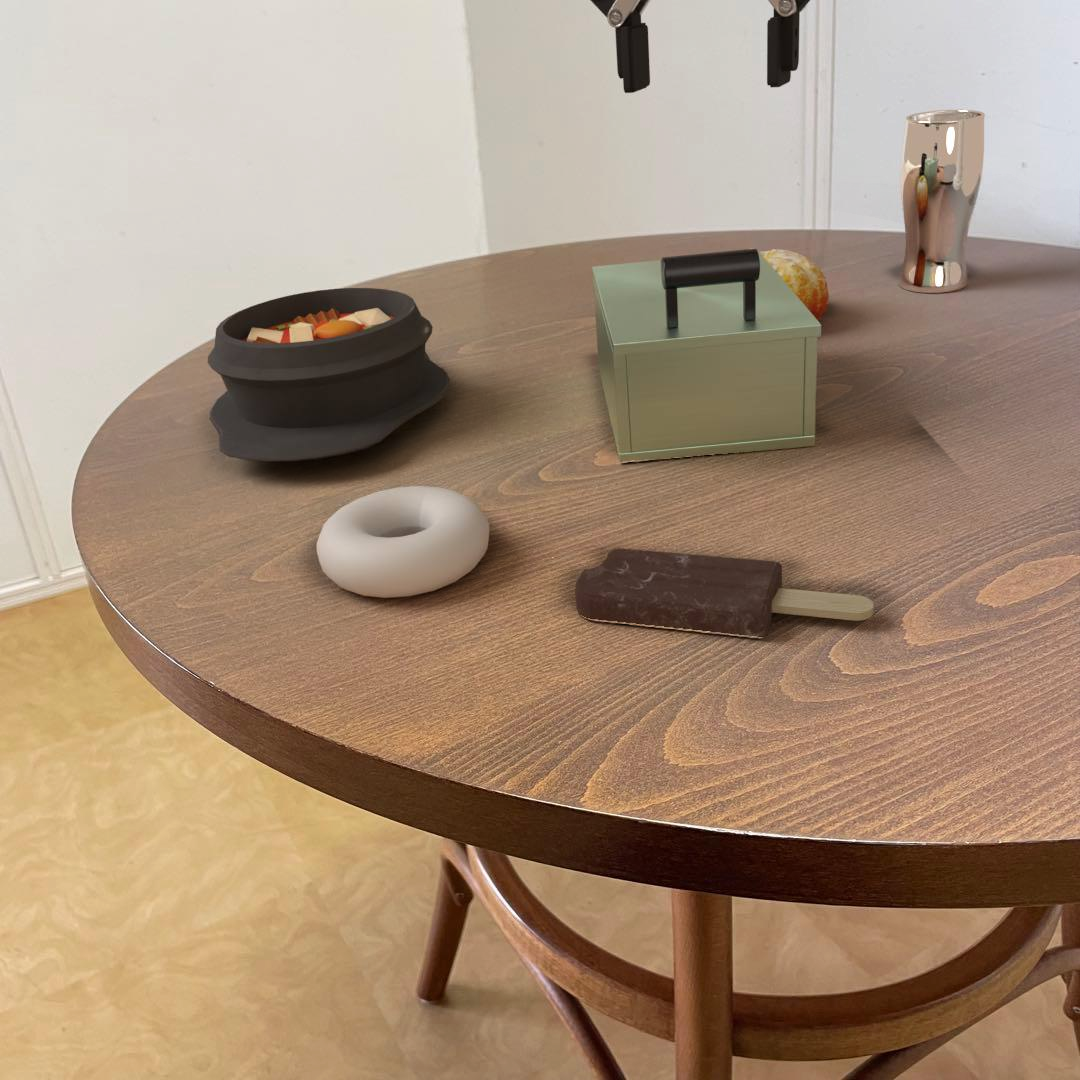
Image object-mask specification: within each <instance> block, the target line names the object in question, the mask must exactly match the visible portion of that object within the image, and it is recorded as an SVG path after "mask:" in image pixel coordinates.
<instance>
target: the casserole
mask: <svg viewBox="0 0 1080 1080" xmlns="http://www.w3.org/2000/svg"><path fill="white" fill-rule="evenodd" d="M433 329H434V328H433V325H432V324H431V321H429V320H428V319H427V318H426V317H425V316H423V315H422V314H421V311H420V310H419V307H418V306H417V304H416V302H415V300H414V298H413V297H411V296H410V295H408V294H407V293H404V292H400V291H397V290H392V289H387V288H373V287H343V288H329V289H320V290H319V289H318V290H313V291H307V292H300V293H295V294H294V293H293V294H290V295H286V296H282V297H277V298H274V299H270V300H267V301H263V302H260V303H257V304H254V305H251V306H249V307H246V308H244V309H241V310H238V311H237V312H235V313H233V314H231V315H229V316H227V317H226V318H224V320H222V321H221V322H219V324H218V325H217V327H216V328H215V337H214V347H213V348H212V349H211V351H210V353H209V354H208V355H207V364H208V365H209V367H210V369H212V370H213V371H214V372H215V373H216V374H218V375H220V377H221V380H222V381H223V384H224V386H225V389H226V391H225V392H224V393H222V395H221V396H220V397H218V398H217V399H216V401H215V403H214V404H213V406H212V407H211V409H210V411H209V420H210V422H211V423H212V425H213V427H214V428H215V430H216V431H217V433H218V438H219V439H218V441H219V452H220V453H222V454H224V455H225V456H227V457H230V458H234V459H239V460H244V461H253V462H255V461H256V462H269V463H270V462H298V461H308V460H319V459H325V458H331V457H336V456H342V455H347V454H350V453H351V454H352V453H354V452H359V451H363V450H366V449H369V448H370V447H373V446H375V445H377V444H379V443H381V441H383V440H385V438H387V437H388V436H389V435H390V434H392V433H393V432H394V431H396V430H397V428H399V427H400V426H401V425H403V424H404V423H406V422H408V421H409V420H411V419H414V418H415V417H416V416H418V415H420V414H421V413H424V412H425V411H427V410H428V409H430V408H431V407H434V405H435V404H437V403H438V402H439V401H441V399H443V398H444V397H445V395H446V394H447V392H448V390H449V389H450V387H451V378H450V376H449V374H448V373H447V371H446V370H444V369H443V368H442V367H440V366H439V365H438V364H436V363H435V362H434V361H432V360H431V358H430V357H429V355H428V353H427V352H426V343H427V342H428V341H429V339H430V337H431V336H432V333H433Z"/></svg>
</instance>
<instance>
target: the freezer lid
mask: <svg viewBox="0 0 1080 1080" xmlns="http://www.w3.org/2000/svg"><path fill="white" fill-rule="evenodd" d="M753 248H754V249H750V248H746V249H733V250H724V251H723V250H722V251H715V252H704V253H693V254H683V255H682V254H681V255H673V256H672V255H671V256H663V257H661V258H660V259H657V260H649V261H648V260H647V261H638V262H637V261H636V262H628V263H627V262H626V263H618V264H617V263H616V264H607V265H605V264H604V265H597V266H592V267H591V270H592V280H593V279H594V283H595V286H596V290H597V294H598V297H599V301H600V305H601V308H602V312H603V316H604V320H605V323H606V327H607V331H608V334H609V338H610V342H611V345H612V349H613V353H614V356H619V355H630V354H640V353H651V352H661V351H672V350H682V349H693V348H703V347H714V346H724V345H735V344H746V343H756V342H767V341H777V340H788V339H798V338H809V337H818V338H820V337H822V324H821V323H820V320H819V321H818V320H817V319H816V318H815V317H814V316H813V314H812V313H811V312H810V311H809V310H808V309H807V307H806V306H805V305H804V304H803V303H802V302H801V300H800V299H799V298H798V297H797V296H796V294H795V293H794V292H793V291H792V290H791V289H790V287H789V286H788V285H787V284H786V283H785V282H784V280H783V279H782V278H781V277H780V276H779V275H778V273H777V272H776V271H775V270H774V269H773V267H772V266H771V265H770V264H769V263H768V262H767V260H766V259H765V258H764V257H763V256H762V255H761V253H760V252H761V251H759V250H758V249H757V248H756V247H753ZM757 250H758V251H757Z"/></svg>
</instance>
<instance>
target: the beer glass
mask: <svg viewBox="0 0 1080 1080" xmlns="http://www.w3.org/2000/svg"><path fill="white" fill-rule="evenodd" d="M985 116H986V114H985V112H983V111H979V110H974V109H940V110H929V111H922V112H921V111H920V112H917V113H912V114H909V115H907V116H906V117H905V124H904V125H905V126H904V131H903V133H904V134H903V140H902V147H901V158H900V175H899V177H900V180H899V181H900V182H899V183H900V184H899V185H900V197H901V207H902V214H903V215H902V216H903V223H904V233H905V251H904V258H903V263H902V267H901V271H900V275H899V279H898V280H899V281H898V284H899V286H900V287H901V289H904V290H906V291H909V292H913V293H921V294H943V293H951V292H956V291H960V290H962V289H964V288H965V287H967V285H968V272H967V264H966V247H967V242H968V241H967V240H968V234H969V230H970V226H971V223H972V219H973V215H974V211H975V208H976V204H977V200H978V196H979V193H980V187H981V181H982V177H983V170H984V169H983V168H984V158H985V155H984V154H985Z"/></svg>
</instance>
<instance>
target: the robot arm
mask: <svg viewBox="0 0 1080 1080" xmlns="http://www.w3.org/2000/svg"><path fill="white" fill-rule="evenodd" d="M767 1H768V3H769V4H770V5H771V6H772V7H773V16H772V17H769V19H768V20H767V25H766V27H767V28H766V31H767V32H766V34H767V35H766V41H767V42H766V85H767V86H770V88H780V87H782V86H785V85H786V84H789V83H790V82H791V78H792V77H791V76H792V72H795V71H797V70H798V68H799V63H800V16H801V15H800V13H801V12H803V11H804V10H805V8H806V7H807V5H808V4H809V2H810V1H811V0H767ZM590 2H591V3H592V4H593V5H594V6H595V7H596V8H597V9H598V10H599V11H600V12H601V13H602V14H603V15H604V16H605V18H606V19H607V20H606V21H607V23H608V24H609V26H610V27H612V28H614V29H615V30H614V31H615V50H616V51H615V52H616V68H617V75H618V78H619V79H621V80H622V83H623V85H622V86H623V91H624V94H633V93H636V92H639V91H642V90H644V89H647V87H649V86H650V85H651V73H650V72H651V70H650V69H651V68H650V67H651V66H650V46H649V45H650V44H649V27H648V25H647V23H646V22H642V14H643V13H644V11H645V10H646V8H647V7H648V5H649V4H650V2H651V0H590Z"/></svg>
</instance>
